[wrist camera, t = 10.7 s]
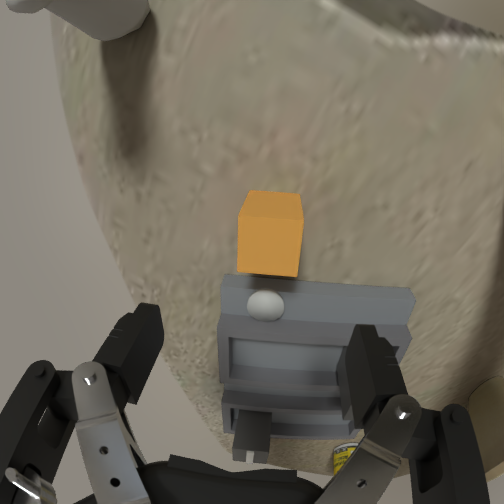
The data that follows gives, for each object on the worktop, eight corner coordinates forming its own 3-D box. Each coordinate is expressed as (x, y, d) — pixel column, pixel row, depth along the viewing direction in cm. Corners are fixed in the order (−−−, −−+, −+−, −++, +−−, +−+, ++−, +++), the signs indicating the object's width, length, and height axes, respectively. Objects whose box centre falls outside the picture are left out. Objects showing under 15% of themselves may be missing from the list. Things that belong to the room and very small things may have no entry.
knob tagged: (273, 404, 32) (268, 454, 26) (270, 420, 34) (265, 465, 28) (240, 401, 33) (231, 450, 26) (240, 417, 35) (232, 462, 28)
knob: (383, 340, 26) (399, 397, 20) (371, 367, 28) (383, 421, 22) (345, 340, 26) (355, 399, 20) (336, 366, 28) (342, 423, 22)
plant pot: (529, 347, 28) (567, 418, 14) (502, 398, 34) (526, 460, 20) (460, 377, 31) (493, 466, 17) (440, 424, 38) (458, 495, 23)
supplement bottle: (345, 440, 40) (348, 489, 31) (368, 443, 40) (373, 489, 32) (326, 451, 42) (327, 497, 34) (349, 454, 43) (352, 498, 34)
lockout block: (299, 194, 23) (304, 220, 18) (295, 239, 25) (296, 276, 20) (249, 190, 23) (238, 215, 18) (247, 235, 25) (237, 271, 20)
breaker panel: (410, 286, 26) (424, 311, 22) (345, 426, 38) (347, 447, 34) (224, 272, 27) (215, 297, 23) (228, 420, 39) (224, 441, 35)
